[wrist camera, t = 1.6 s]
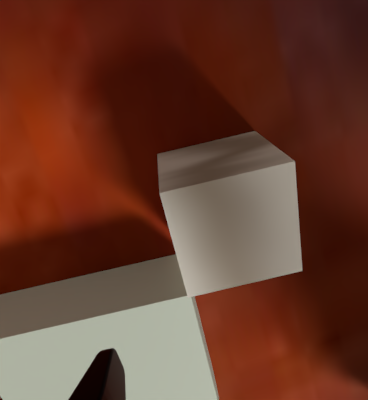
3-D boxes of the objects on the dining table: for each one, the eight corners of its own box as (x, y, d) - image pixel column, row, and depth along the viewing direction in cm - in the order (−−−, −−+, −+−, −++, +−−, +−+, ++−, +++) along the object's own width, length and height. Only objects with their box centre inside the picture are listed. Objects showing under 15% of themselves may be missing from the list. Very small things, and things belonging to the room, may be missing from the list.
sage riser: (182, 248, 19) (190, 295, 15) (213, 371, 24) (225, 429, 20) (0, 290, 19) (-35, 347, 15) (67, 405, 24) (52, 469, 20)
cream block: (254, 130, 16) (294, 160, 12) (264, 216, 18) (302, 270, 14) (156, 153, 16) (159, 193, 12) (178, 236, 18) (187, 297, 14)
